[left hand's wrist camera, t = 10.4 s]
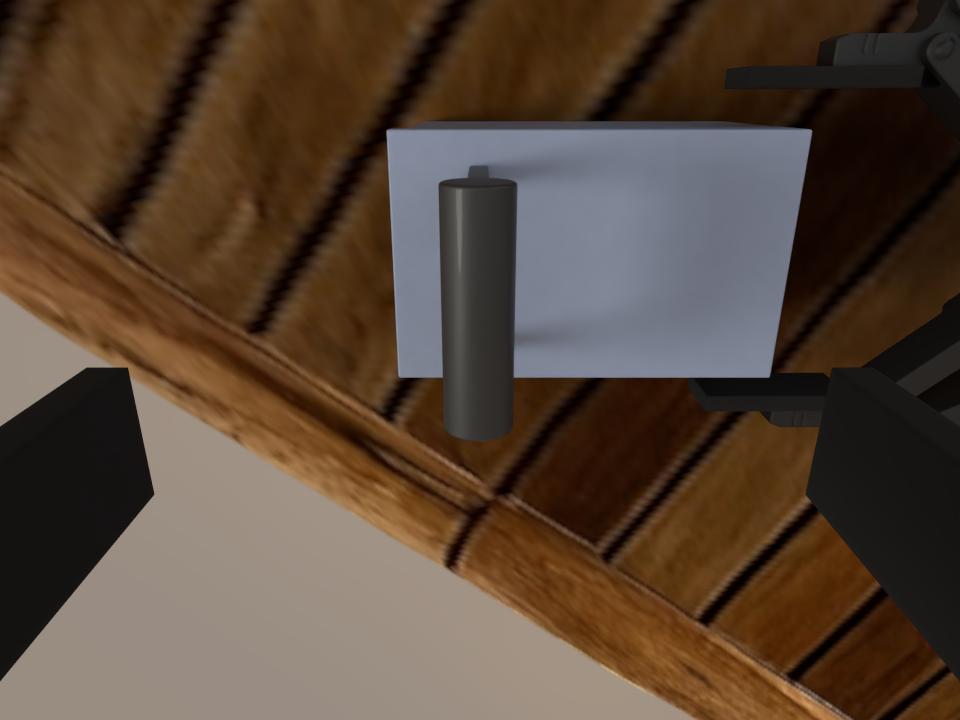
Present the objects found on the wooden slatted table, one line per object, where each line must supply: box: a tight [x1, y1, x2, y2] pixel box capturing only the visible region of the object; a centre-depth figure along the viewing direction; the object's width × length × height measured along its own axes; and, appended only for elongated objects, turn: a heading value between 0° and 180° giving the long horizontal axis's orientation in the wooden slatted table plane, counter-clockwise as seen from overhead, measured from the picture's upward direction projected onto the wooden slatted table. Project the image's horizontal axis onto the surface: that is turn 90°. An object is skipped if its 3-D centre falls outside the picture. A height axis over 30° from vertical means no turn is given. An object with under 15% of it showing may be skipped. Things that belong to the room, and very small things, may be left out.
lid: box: [387, 129, 812, 441], centre depth 22 cm, size 15×10×8 cm, turn 90°
